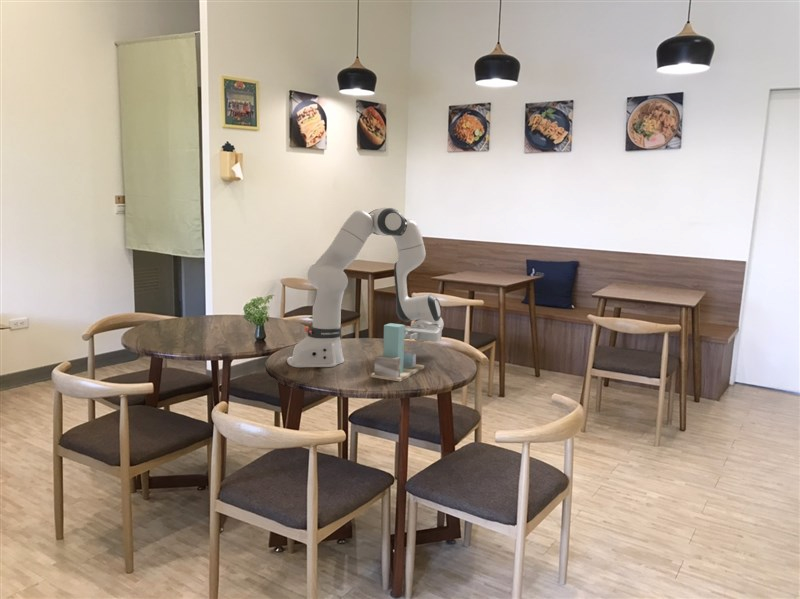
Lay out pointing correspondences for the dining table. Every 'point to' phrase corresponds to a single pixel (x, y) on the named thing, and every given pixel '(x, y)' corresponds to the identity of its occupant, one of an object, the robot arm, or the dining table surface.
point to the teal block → (394, 342)
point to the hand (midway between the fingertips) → (407, 336)
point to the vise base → (404, 374)
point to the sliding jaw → (409, 360)
